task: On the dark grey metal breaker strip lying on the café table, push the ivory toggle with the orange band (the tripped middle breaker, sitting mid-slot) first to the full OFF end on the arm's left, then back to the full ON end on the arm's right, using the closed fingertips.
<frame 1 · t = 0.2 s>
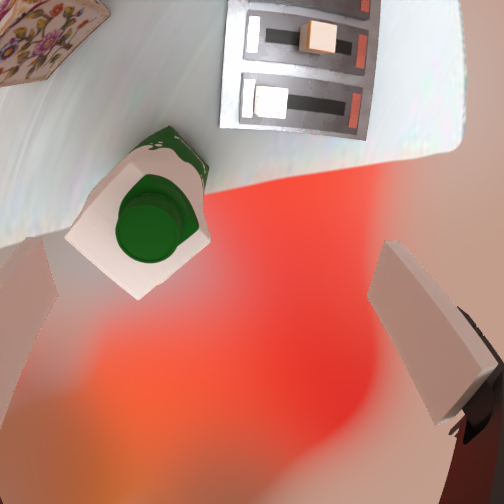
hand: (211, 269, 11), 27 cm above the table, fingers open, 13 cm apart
breaker panel: (301, 44, 29), on the table
decorative jar: (54, 20, 24), on the table
milk carton: (167, 166, 36), on the table
tripped toggle: (317, 38, 24), point 6 cm above the table, slide at 0.0 cm
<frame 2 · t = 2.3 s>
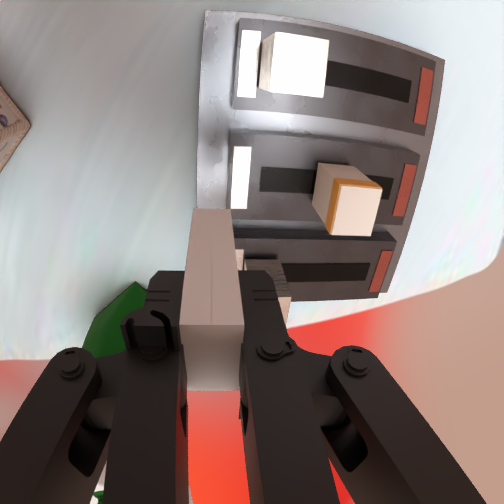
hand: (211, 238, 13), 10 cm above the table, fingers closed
breaker panel: (315, 166, 23), on the table
milk carton: (140, 320, 29), on the table
tripped toggle: (344, 197, 18), point 6 cm above the table, slide at 0.0 cm
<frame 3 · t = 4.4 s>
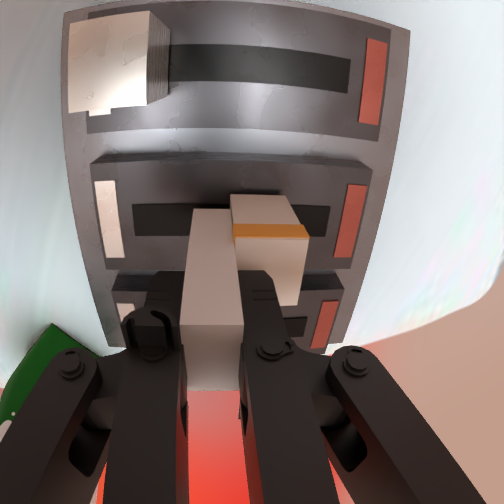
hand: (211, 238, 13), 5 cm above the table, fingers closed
breaker panel: (228, 192, 18), on the table
milk carton: (68, 360, 24), on the table
tripped toggle: (261, 246, 13), point 6 cm above the table, slide at 1.1 cm, touching gripper
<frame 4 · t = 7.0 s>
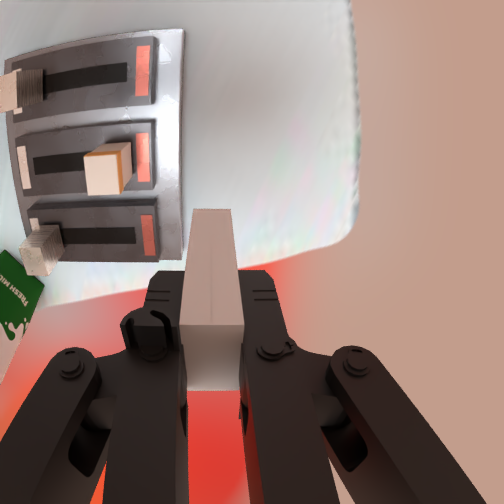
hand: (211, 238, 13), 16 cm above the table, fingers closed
breaker panel: (92, 151, 25), on the table
milk carton: (15, 281, 32), on the table
tripped toggle: (109, 167, 21), point 6 cm above the table, slide at 3.7 cm
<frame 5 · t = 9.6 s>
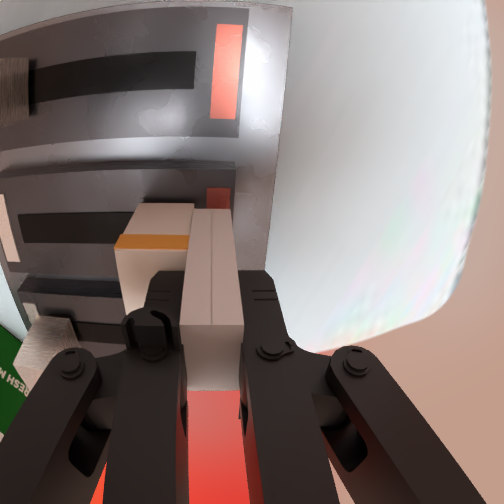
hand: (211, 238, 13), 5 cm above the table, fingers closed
breaker panel: (115, 200, 17), on the table
milk carton: (12, 354, 23), on the table
tripped toggle: (161, 255, 12), point 6 cm above the table, slide at 3.6 cm, touching gripper
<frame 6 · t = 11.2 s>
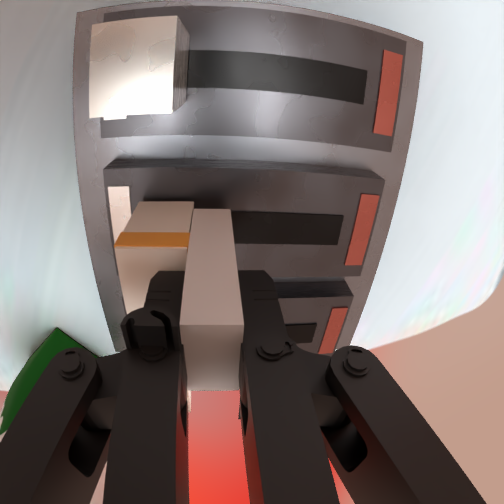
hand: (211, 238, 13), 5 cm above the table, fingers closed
breaker panel: (241, 199, 18), on the table
milk carton: (72, 364, 24), on the table
tripped toggle: (161, 253, 12), point 6 cm above the table, slide at -3.6 cm, touching gripper
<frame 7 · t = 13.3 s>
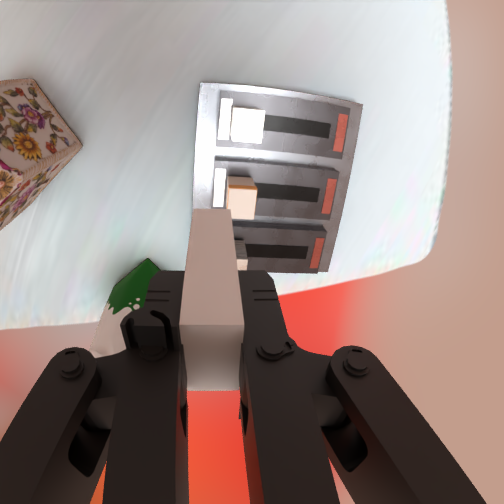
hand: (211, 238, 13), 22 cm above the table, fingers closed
breaker panel: (270, 181, 35), on the table
decorative jar: (29, 142, 29), on the table
milk carton: (148, 288, 41), on the table
tripped toggle: (240, 196, 30), point 6 cm above the table, slide at -3.9 cm
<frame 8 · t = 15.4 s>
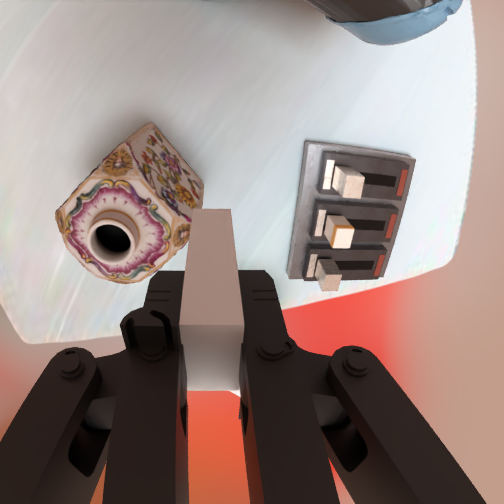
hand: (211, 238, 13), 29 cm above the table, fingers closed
breaker panel: (348, 214, 47), on the table
decorative jar: (147, 178, 41), on the table
tripped toggle: (338, 231, 41), point 6 cm above the table, slide at -3.9 cm
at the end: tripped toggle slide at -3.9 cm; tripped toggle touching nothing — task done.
